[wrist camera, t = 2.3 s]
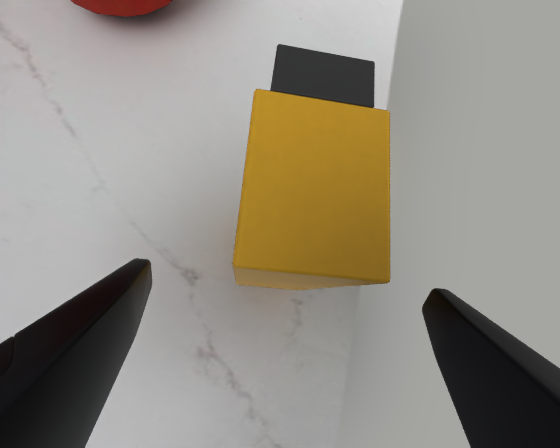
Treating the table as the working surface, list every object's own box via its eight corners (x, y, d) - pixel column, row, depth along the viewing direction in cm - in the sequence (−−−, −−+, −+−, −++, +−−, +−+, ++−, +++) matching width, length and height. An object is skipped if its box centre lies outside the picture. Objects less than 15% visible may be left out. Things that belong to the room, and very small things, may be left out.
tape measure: (298, 290, 19) (391, 283, 7) (236, 284, 19) (231, 267, 7) (305, 193, 21) (391, 64, 9) (248, 185, 20) (260, 39, 9)
